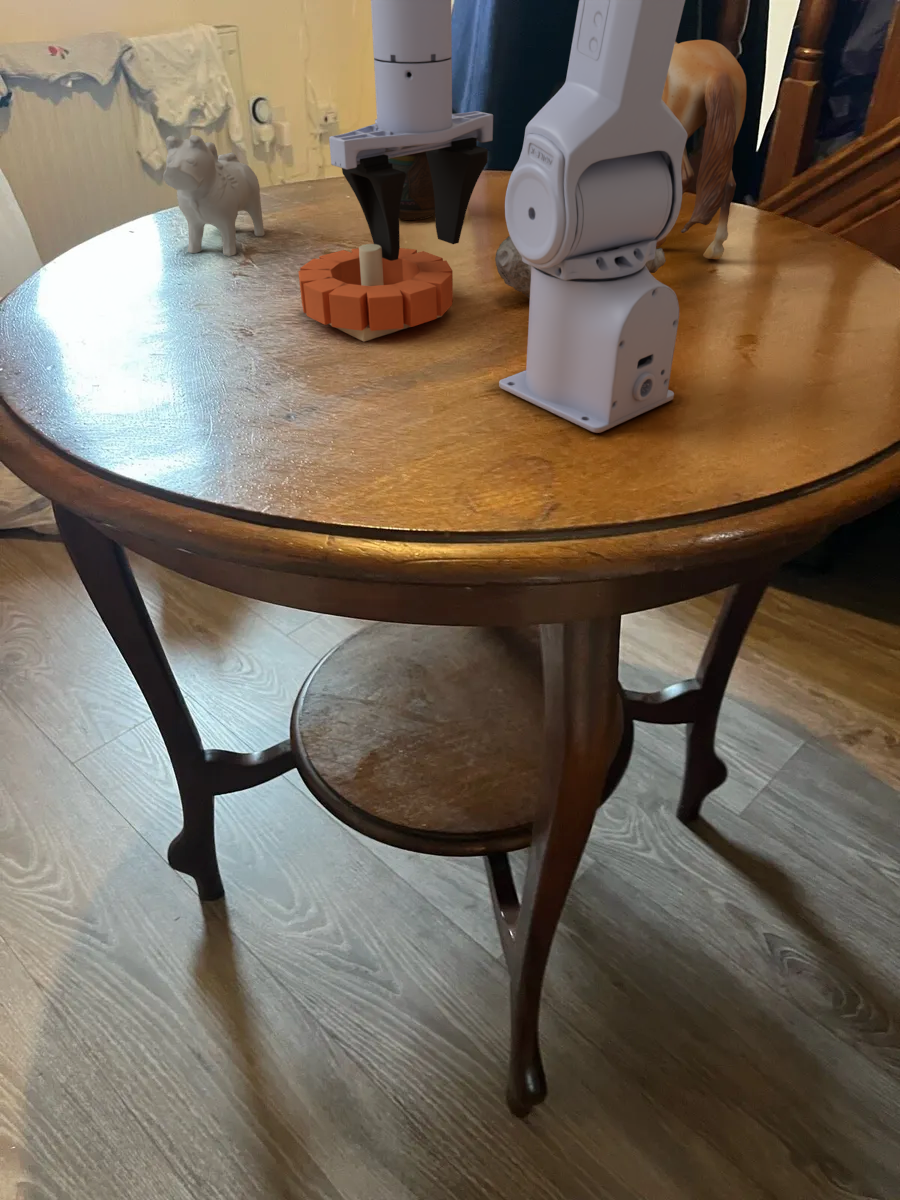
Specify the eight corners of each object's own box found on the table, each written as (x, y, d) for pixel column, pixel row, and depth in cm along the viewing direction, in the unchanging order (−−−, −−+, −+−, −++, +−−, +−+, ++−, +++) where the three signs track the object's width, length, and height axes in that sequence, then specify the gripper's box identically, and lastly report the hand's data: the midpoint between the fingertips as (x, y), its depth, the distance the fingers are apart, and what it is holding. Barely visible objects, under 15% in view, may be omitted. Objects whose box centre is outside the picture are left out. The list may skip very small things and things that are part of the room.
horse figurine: (568, 198, 102) (583, -21, 90) (632, 194, 104) (656, -23, 91) (681, 290, 78) (723, 10, 66) (762, 283, 80) (819, 6, 67)
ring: (481, 304, 73) (482, 272, 72) (361, 343, 67) (359, 309, 65) (389, 268, 81) (388, 238, 79) (273, 300, 74) (269, 268, 73)
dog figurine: (165, 265, 85) (140, 141, 78) (225, 226, 94) (207, 112, 88) (217, 269, 84) (195, 144, 77) (272, 229, 93) (257, 115, 87)
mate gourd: (366, 213, 98) (360, 110, 92) (422, 201, 102) (420, 102, 95) (403, 228, 93) (399, 121, 87) (461, 215, 97) (461, 112, 91)
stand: (442, 316, 74) (441, 248, 70) (363, 342, 70) (358, 270, 66) (383, 291, 79) (380, 226, 75) (306, 313, 75) (299, 245, 71)
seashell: (680, 274, 73) (650, 174, 70) (525, 341, 76) (489, 248, 72) (662, 264, 79) (634, 172, 76) (519, 327, 81) (485, 240, 78)
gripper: (452, 43, 72) (453, 221, 80) (299, 62, 64) (317, 256, 73) (513, 52, 67) (507, 239, 76) (356, 73, 60) (369, 277, 68)
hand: (418, 249), depth 74 cm, fingers open, 6 cm apart
